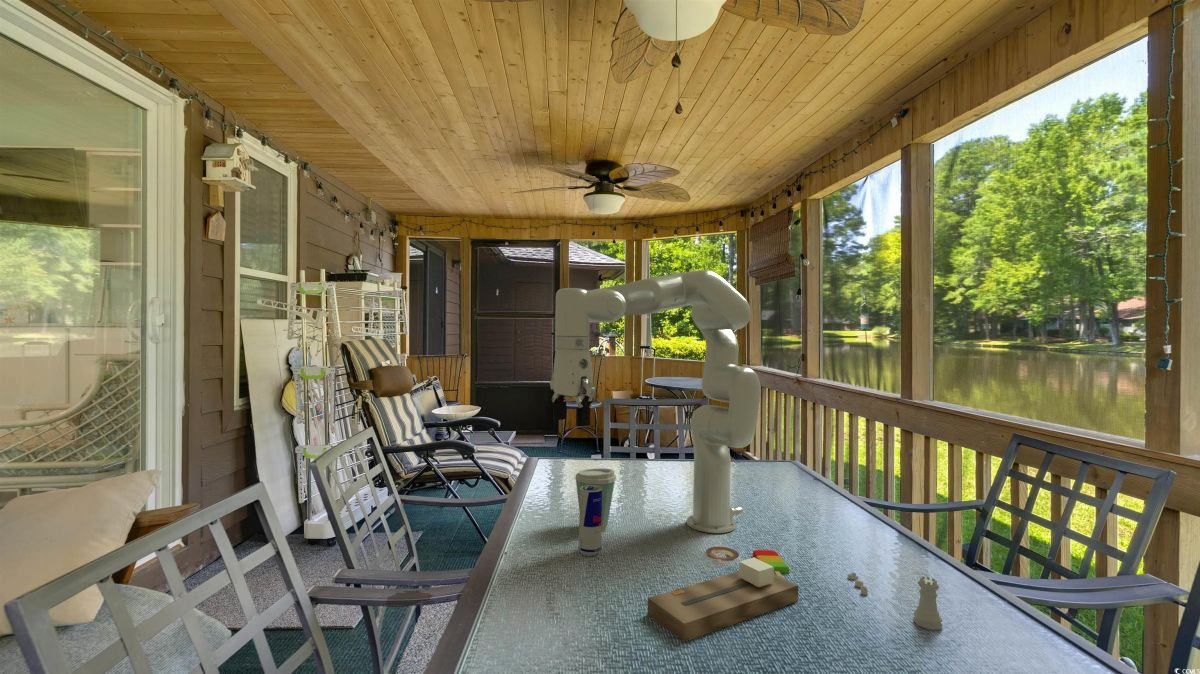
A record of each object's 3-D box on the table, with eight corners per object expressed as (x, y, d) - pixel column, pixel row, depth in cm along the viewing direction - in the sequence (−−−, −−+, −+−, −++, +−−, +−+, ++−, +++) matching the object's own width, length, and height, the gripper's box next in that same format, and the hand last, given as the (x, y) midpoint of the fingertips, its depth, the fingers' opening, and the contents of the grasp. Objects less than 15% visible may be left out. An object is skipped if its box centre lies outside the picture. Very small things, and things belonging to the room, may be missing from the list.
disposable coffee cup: (567, 531, 138) (568, 472, 138) (584, 518, 148) (585, 463, 148) (606, 538, 134) (607, 477, 134) (621, 524, 144) (622, 467, 144)
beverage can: (598, 557, 123) (599, 491, 122) (576, 555, 124) (577, 489, 123) (603, 549, 127) (604, 484, 127) (581, 547, 129) (582, 483, 128)
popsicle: (775, 557, 126) (775, 549, 126) (798, 588, 111) (799, 579, 111) (751, 557, 126) (751, 549, 126) (771, 587, 111) (771, 578, 111)
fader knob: (753, 572, 108) (753, 557, 108) (773, 582, 104) (773, 566, 104) (738, 576, 106) (739, 561, 106) (758, 587, 102) (759, 571, 102)
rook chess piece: (907, 618, 98) (908, 574, 98) (930, 617, 99) (931, 573, 99) (924, 632, 94) (925, 585, 94) (948, 631, 94) (949, 584, 94)
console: (757, 580, 113) (758, 565, 113) (798, 601, 104) (798, 584, 104) (647, 614, 98) (647, 597, 98) (683, 641, 90) (684, 623, 90)
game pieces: (846, 578, 115) (846, 569, 115) (857, 579, 115) (857, 570, 115) (858, 596, 107) (858, 586, 107) (869, 597, 107) (870, 587, 107)
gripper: (608, 345, 115) (607, 427, 116) (566, 343, 130) (565, 416, 130) (578, 345, 111) (577, 430, 111) (538, 343, 125) (537, 418, 126)
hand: (570, 422), depth 121 cm, fingers open, 9 cm apart
